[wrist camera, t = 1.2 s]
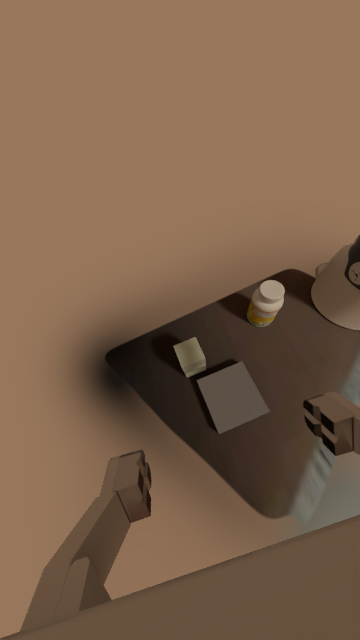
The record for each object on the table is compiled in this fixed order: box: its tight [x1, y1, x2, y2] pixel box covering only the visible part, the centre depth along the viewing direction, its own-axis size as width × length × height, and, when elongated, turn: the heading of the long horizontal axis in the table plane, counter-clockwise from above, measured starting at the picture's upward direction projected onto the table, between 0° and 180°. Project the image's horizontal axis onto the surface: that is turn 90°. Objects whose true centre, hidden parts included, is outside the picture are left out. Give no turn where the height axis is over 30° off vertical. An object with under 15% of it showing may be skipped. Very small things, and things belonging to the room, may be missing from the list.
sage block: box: [173, 337, 206, 378], centre depth 36 cm, size 4×4×8 cm
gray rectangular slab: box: [197, 361, 270, 434], centre depth 35 cm, size 9×9×2 cm
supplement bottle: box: [247, 280, 285, 327], centre depth 38 cm, size 5×5×10 cm
